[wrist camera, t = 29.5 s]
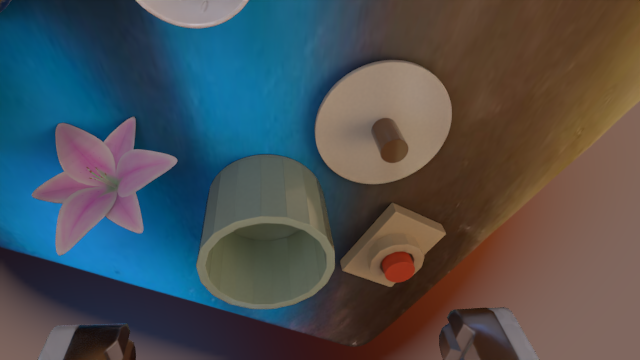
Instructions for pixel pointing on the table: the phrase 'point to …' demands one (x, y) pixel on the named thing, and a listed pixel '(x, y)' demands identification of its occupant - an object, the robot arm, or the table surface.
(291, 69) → the table surface
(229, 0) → the white cup
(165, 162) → the lily
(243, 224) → the storage jar
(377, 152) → the jar lid
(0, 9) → the beverage bottle
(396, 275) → the button
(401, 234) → the button block
